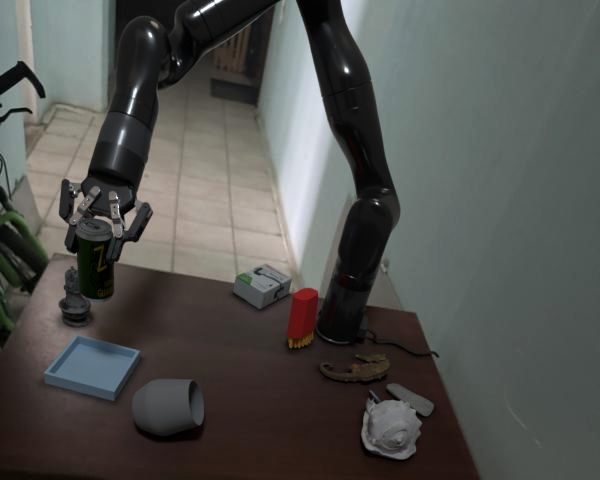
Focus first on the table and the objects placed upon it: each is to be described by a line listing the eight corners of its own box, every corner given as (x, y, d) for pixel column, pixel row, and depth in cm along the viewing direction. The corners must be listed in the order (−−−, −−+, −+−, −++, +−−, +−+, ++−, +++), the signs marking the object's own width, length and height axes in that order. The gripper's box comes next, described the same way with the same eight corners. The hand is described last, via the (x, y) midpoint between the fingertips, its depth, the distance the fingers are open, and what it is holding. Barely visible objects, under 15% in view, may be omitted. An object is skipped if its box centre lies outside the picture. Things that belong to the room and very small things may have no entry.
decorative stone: (390, 383, 112) (381, 394, 108) (392, 378, 111) (383, 389, 108) (434, 408, 109) (426, 420, 106) (436, 404, 108) (428, 415, 105)
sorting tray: (140, 360, 99) (140, 350, 98) (114, 401, 90) (114, 391, 88) (77, 343, 98) (76, 333, 97) (44, 383, 89) (43, 373, 88)
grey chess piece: (96, 315, 106) (94, 262, 98) (84, 331, 101) (81, 277, 94) (67, 308, 105) (63, 254, 98) (54, 323, 101) (48, 269, 93)
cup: (154, 411, 92) (208, 404, 91) (143, 450, 85) (201, 443, 84) (133, 371, 86) (191, 362, 85) (119, 409, 79) (181, 400, 78)
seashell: (377, 406, 106) (394, 368, 99) (423, 453, 98) (444, 415, 92) (331, 421, 99) (345, 381, 93) (376, 473, 92) (395, 433, 85)
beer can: (71, 294, 84) (66, 225, 76) (93, 281, 88) (90, 214, 80) (100, 307, 83) (98, 238, 75) (120, 293, 87) (121, 226, 79)
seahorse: (341, 384, 103) (340, 396, 105) (401, 362, 111) (399, 374, 113) (315, 363, 109) (314, 376, 111) (373, 344, 117) (372, 356, 119)
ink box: (235, 275, 120) (265, 261, 129) (232, 293, 123) (261, 279, 132) (264, 292, 118) (293, 277, 126) (260, 310, 121) (289, 294, 129)
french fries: (287, 296, 106) (281, 346, 113) (303, 303, 104) (296, 353, 112) (310, 284, 112) (303, 332, 119) (325, 290, 110) (317, 338, 117)
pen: (415, 437, 100) (371, 389, 107) (413, 437, 100) (369, 389, 107) (412, 440, 101) (369, 392, 108) (410, 440, 100) (367, 392, 107)
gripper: (66, 126, 76) (32, 235, 75) (162, 154, 77) (129, 263, 75) (84, 153, 83) (53, 252, 82) (171, 178, 84) (142, 277, 83)
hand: (90, 257), depth 79 cm, fingers closed on beer can, 5 cm apart
